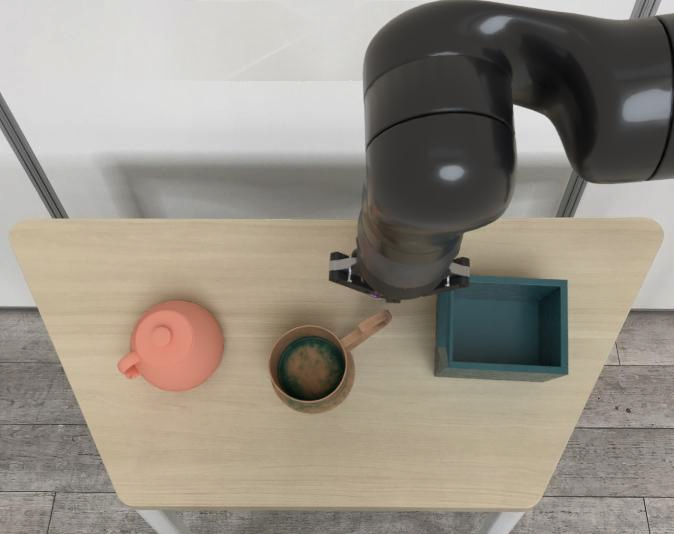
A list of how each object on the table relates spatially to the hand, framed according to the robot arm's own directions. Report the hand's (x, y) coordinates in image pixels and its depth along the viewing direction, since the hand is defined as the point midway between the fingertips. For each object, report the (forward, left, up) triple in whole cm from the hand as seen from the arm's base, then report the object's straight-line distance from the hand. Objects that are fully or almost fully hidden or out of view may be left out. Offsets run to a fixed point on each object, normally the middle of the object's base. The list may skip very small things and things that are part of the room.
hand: (392, 293), depth 62 cm
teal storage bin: (-13, -7, -23) cm, 27 cm away
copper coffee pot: (+4, +7, -23) cm, 24 cm away
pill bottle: (+4, -6, -23) cm, 24 cm away
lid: (-6, -3, -5) cm, 8 cm away
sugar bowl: (+23, +17, -23) cm, 37 cm away
